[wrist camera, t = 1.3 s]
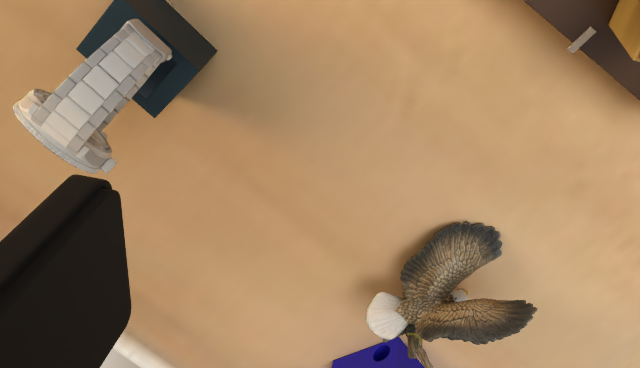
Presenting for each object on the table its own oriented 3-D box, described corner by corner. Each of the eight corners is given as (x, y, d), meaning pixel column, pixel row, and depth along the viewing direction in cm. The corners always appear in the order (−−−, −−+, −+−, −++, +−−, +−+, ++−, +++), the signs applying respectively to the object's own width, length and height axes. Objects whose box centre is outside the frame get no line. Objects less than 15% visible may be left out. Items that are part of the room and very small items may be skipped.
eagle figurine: (461, 354, 44) (559, 303, 38) (403, 403, 39) (505, 353, 33) (400, 264, 45) (484, 201, 39) (337, 300, 40) (422, 234, 34)
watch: (85, 52, 37) (-32, 137, 28) (161, -44, 33) (53, 19, 24) (157, 115, 39) (68, 216, 29) (237, 31, 35) (163, 117, 26)
